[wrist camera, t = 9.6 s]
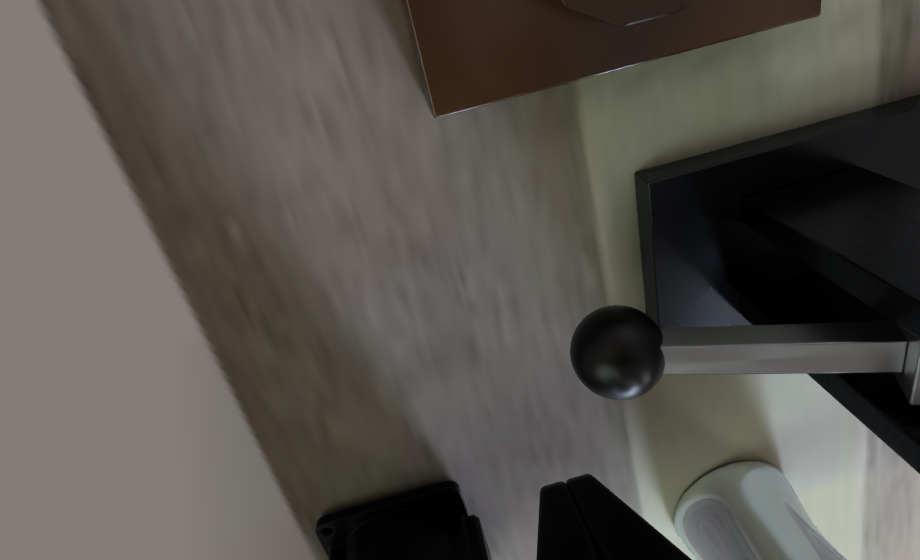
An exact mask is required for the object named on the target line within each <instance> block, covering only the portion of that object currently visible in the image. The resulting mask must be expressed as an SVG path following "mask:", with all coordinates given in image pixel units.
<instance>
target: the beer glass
mask: <svg viewBox="0 0 920 560" xmlns="http://www.w3.org/2000/svg"><path fill="white" fill-rule="evenodd" d="M674 527H675V530H676V533H677V535H678V536H679V538H680V540H681V541H682V542H683V544H684V545H685V546H686V547H687V549H688V550H689V551H690V552H691V553H692V555H693V556H694V557H695V558H696V559H697V560H847V559H846V558H845V557H844V556H843V555H841V554H840V553H839V552H838V551H837V550H836V549H835V548H834V547H833V546H832V545H831V543H830V542H829V541H828V540H827V539H826V538H825V537H824V536H823V535H822V533H821V532H820V531H819V530H818V528H817V527H816V526H815V525H814V523H813V522H812V520H811V519H810V517H809V516H808V514H807V513H806V511H805V509H804V507H803V506H802V504H801V502H800V500H799V499H798V497H797V495H796V493H795V491H794V490H793V488H792V486H791V484H790V483H789V481H788V480H787V478H786V477H785V475H784V474H783V473H782V472H781V471H780V470H778V469H777V468H776V467H774V466H773V465H771V464H768V463H765V462H760V461H742V462H736V463H732V464H728V465H725V466H722V467H720V468H717V469H715V470H713V471H711V472H710V473H708V474H706V475H705V476H703V477H702V478H700V479H699V480H698V481H696V482H695V483H694V484H693V485H692V486H691V487H690V488H689V489H688V490H687V491H686V492H685V494H684V495H683V496H682V498H681V499H680V501H679V503H678V505H677V507H676V510H675V514H674Z"/></svg>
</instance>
